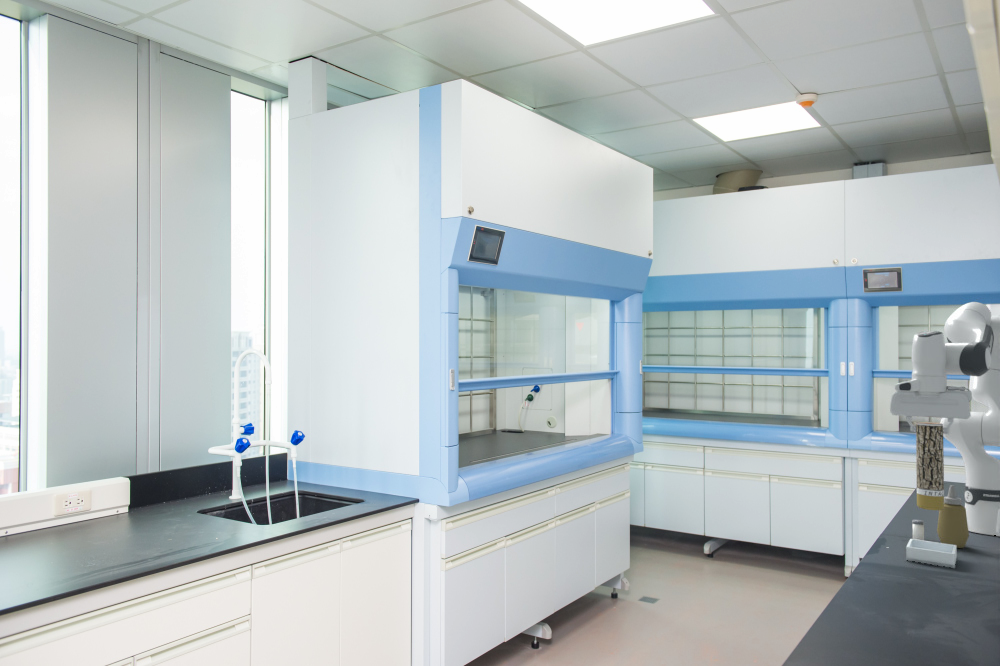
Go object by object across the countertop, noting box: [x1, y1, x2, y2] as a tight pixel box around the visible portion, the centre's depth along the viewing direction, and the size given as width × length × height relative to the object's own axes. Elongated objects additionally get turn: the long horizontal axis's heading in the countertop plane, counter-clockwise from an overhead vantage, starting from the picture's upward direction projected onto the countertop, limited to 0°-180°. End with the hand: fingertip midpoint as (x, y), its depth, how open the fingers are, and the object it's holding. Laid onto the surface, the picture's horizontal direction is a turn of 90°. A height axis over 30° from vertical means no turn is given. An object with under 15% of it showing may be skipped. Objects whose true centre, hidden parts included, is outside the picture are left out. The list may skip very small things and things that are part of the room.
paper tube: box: [915, 421, 945, 511], centre depth 202 cm, size 7×7×25 cm
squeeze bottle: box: [936, 485, 970, 549], centre depth 207 cm, size 8×8×18 cm
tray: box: [905, 538, 958, 569], centre depth 191 cm, size 11×11×4 cm
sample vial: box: [911, 519, 925, 541], centre depth 212 cm, size 3×3×6 cm
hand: (929, 432), depth 202 cm, fingers closed on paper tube, 7 cm apart
